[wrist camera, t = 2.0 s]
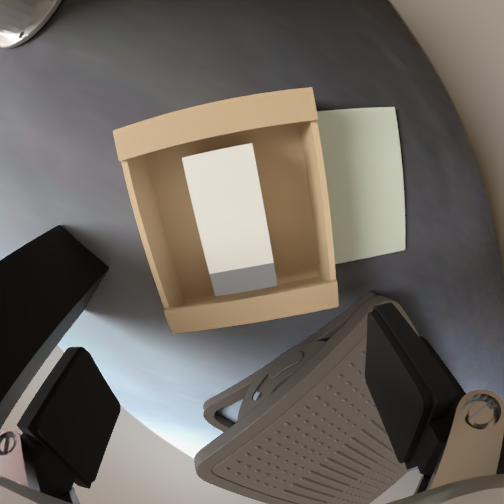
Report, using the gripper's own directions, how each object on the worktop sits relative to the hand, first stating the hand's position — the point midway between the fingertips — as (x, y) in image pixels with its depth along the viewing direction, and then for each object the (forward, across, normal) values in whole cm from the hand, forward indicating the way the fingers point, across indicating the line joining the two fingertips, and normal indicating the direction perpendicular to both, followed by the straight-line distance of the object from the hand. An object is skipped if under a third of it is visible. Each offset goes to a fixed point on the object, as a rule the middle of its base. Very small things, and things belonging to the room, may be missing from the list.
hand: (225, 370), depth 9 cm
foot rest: (+22, -10, +34) cm, 41 cm away
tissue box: (+21, +20, +2) cm, 29 cm away
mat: (+21, -12, -1) cm, 24 cm away
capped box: (+20, 0, -1) cm, 20 cm away
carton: (+20, 0, -1) cm, 21 cm away
